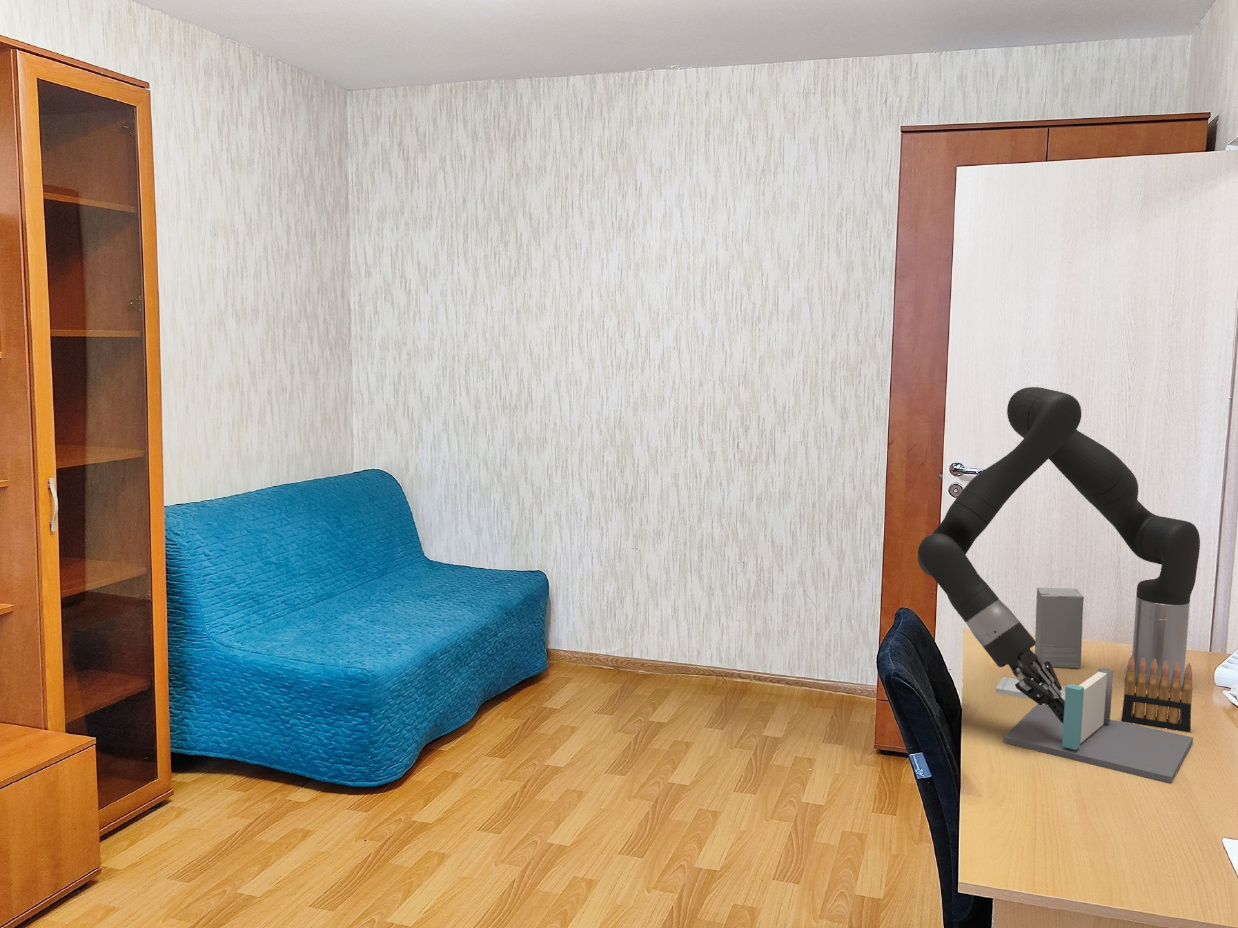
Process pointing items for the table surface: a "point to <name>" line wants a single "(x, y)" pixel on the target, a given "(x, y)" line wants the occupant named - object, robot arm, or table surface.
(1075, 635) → the skincare box
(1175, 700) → the ammunition clip
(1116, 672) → the table surface
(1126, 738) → the mat
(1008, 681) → the hard drive
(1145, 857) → the table surface
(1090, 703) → the cream barrier panel
